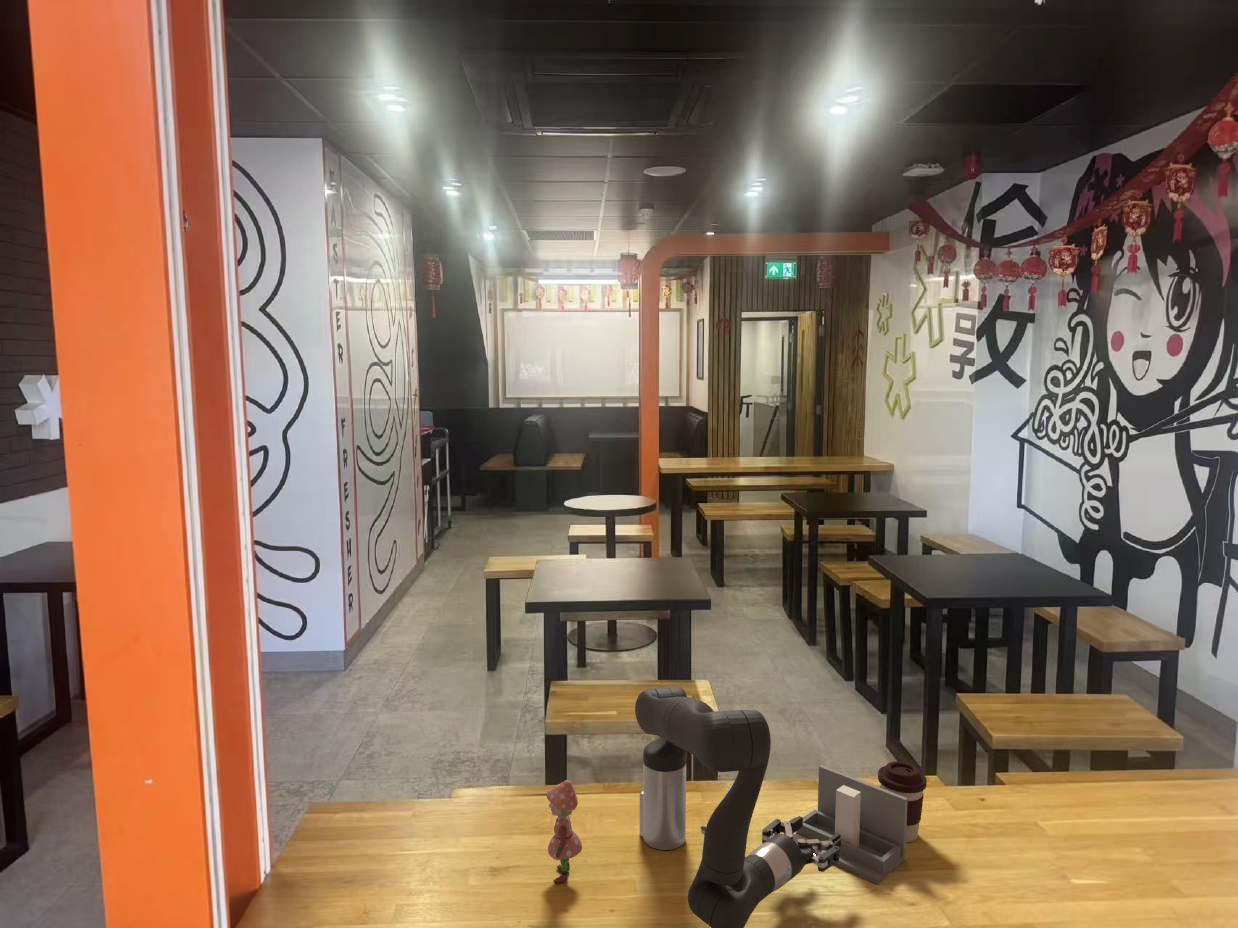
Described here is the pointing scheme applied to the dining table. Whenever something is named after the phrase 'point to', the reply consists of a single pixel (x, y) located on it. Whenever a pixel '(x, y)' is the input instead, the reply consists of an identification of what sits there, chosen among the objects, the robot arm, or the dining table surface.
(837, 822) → the clay bar
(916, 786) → the coffee cup
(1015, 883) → the dining table surface
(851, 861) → the grey desk organizer
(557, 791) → the cartoon character
